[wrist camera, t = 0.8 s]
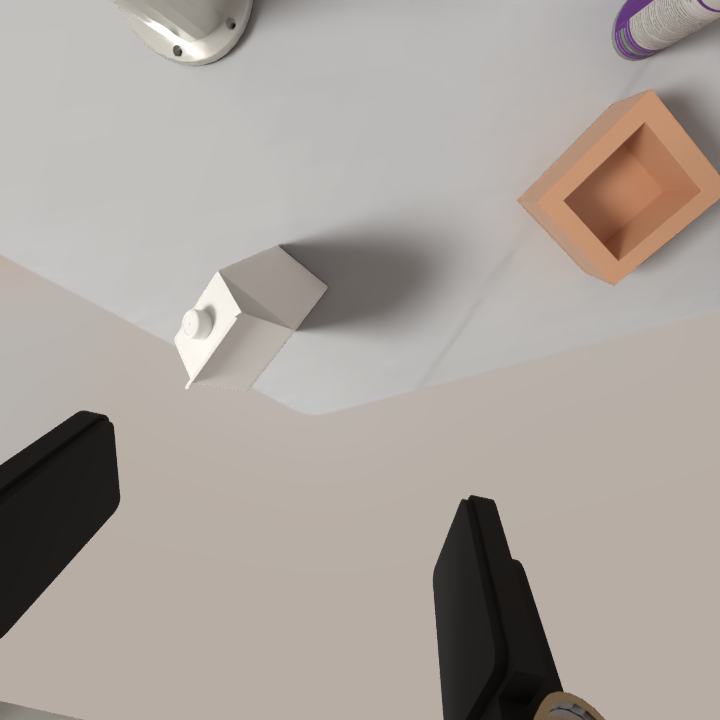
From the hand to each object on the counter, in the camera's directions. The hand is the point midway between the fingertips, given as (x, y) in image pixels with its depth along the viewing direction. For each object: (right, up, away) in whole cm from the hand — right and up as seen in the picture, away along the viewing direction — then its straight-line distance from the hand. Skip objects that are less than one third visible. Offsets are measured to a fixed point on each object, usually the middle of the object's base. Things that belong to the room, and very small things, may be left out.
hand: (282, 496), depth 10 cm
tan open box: (+25, +19, +27) cm, 41 cm away
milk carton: (-6, +12, +34) cm, 36 cm away
